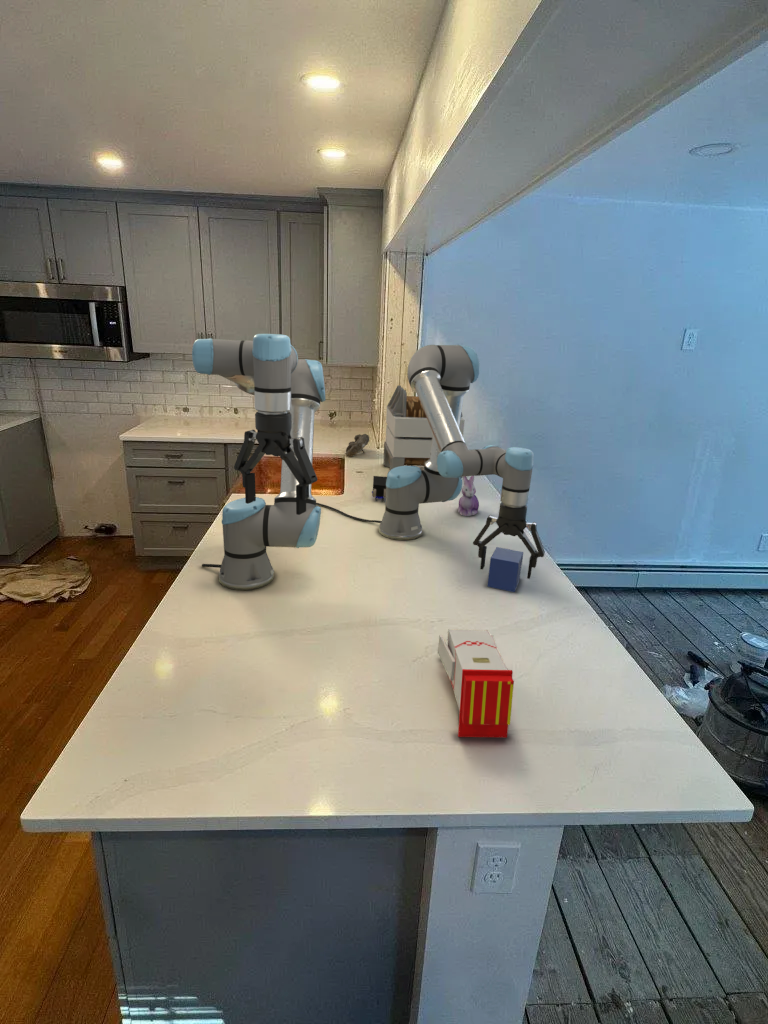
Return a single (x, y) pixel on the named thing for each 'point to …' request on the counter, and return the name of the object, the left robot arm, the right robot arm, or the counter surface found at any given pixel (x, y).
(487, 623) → the counter surface
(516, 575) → the block
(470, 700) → the toy
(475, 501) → the figurine
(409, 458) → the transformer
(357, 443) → the fossil
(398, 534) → the right robot arm
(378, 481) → the figurine character
